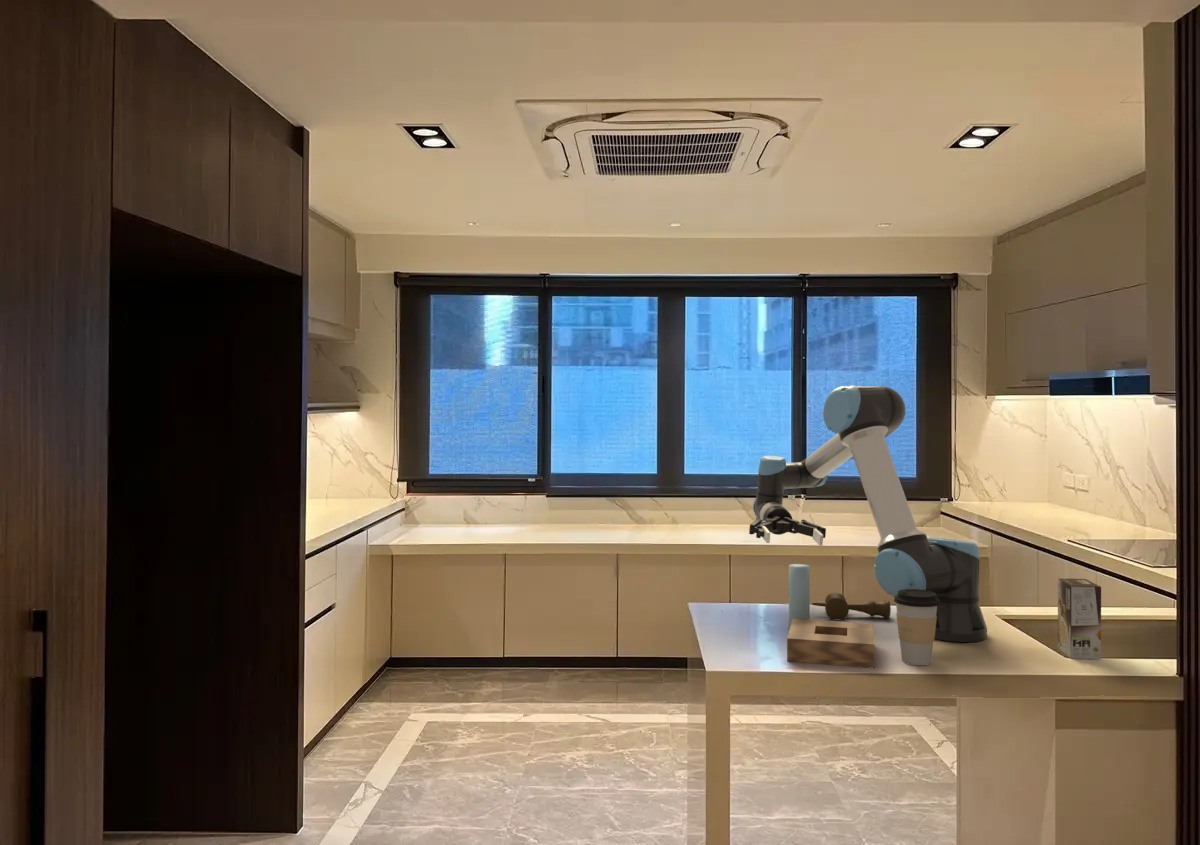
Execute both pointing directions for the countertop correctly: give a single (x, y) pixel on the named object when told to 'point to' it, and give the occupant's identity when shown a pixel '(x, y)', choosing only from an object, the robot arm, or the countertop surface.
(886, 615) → the kendama
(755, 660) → the countertop surface
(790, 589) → the peg
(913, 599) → the coffee cup
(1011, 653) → the countertop surface
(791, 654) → the socket block
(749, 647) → the countertop surface
